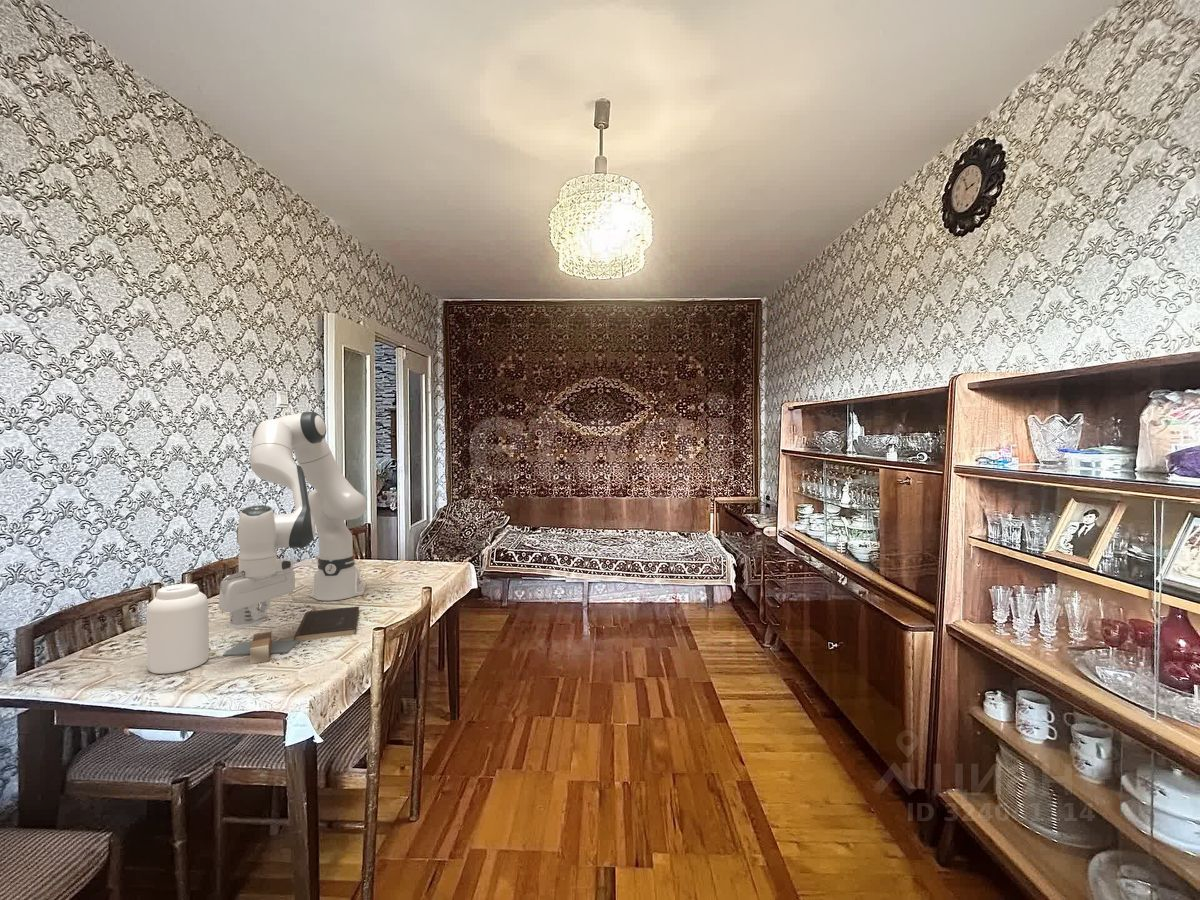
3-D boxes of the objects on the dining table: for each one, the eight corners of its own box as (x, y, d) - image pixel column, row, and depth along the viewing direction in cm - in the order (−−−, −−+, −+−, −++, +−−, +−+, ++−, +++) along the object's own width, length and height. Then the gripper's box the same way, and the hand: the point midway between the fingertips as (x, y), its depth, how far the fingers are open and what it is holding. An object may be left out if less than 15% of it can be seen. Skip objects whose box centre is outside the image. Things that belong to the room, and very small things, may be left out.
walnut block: (254, 634, 151) (250, 648, 142) (271, 631, 153) (268, 646, 144) (254, 648, 152) (250, 664, 143) (271, 645, 153) (268, 661, 145)
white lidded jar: (137, 677, 135) (135, 595, 134) (161, 658, 147) (160, 582, 146) (197, 671, 138) (196, 591, 138) (216, 653, 150) (215, 578, 150)
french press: (218, 628, 169) (217, 546, 169) (242, 616, 181) (241, 539, 180) (252, 628, 170) (251, 545, 169) (273, 616, 181) (272, 538, 181)
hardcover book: (359, 613, 186) (359, 606, 186) (355, 636, 164) (355, 628, 164) (305, 618, 180) (305, 611, 180) (294, 643, 159) (293, 635, 159)
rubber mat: (239, 643, 157) (239, 642, 157) (300, 641, 159) (300, 639, 159) (222, 656, 148) (222, 654, 148) (287, 653, 150) (287, 651, 150)
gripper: (230, 578, 139) (231, 633, 139) (298, 559, 158) (299, 608, 159) (211, 576, 141) (213, 630, 142) (281, 558, 160) (282, 606, 161)
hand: (259, 618), depth 150 cm, fingers closed
